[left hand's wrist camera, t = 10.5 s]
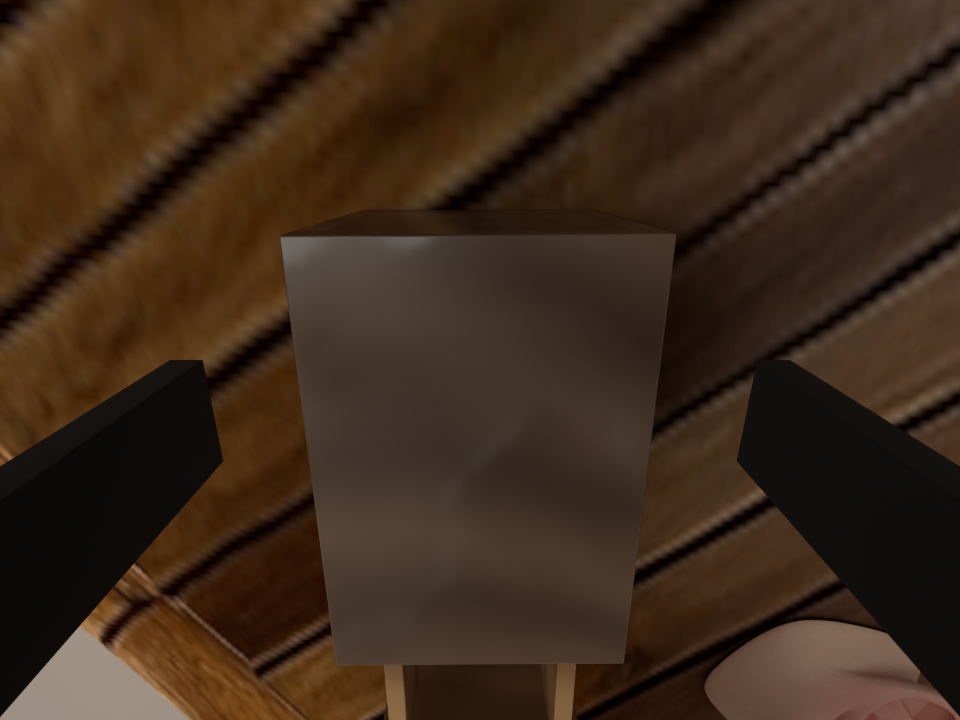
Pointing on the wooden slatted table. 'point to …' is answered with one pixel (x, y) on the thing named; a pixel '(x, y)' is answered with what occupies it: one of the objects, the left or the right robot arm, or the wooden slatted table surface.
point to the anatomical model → (822, 677)
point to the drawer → (480, 692)
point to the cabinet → (478, 427)
